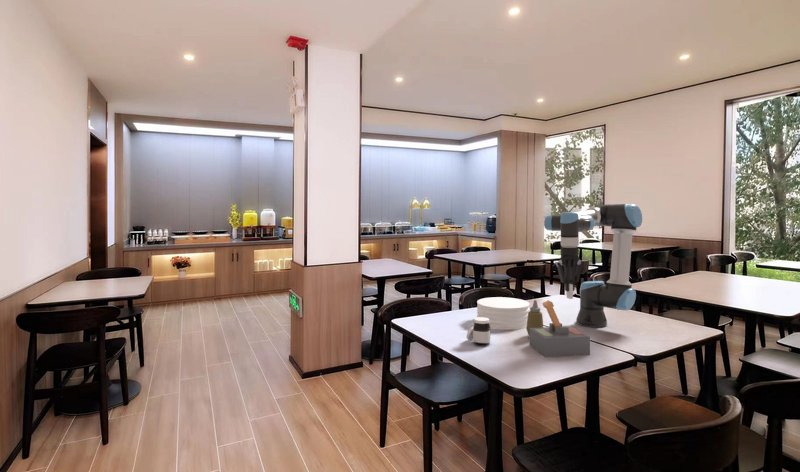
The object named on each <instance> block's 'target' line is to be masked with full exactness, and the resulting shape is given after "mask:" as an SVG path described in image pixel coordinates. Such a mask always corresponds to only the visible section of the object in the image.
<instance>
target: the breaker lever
mask: <svg viewBox="0 0 800 472" xmlns="http://www.w3.org/2000/svg"><path fill="white" fill-rule="evenodd" d="M542 306H543V308H545V309H546V312H547V313H548V316H549V318H550V320H551V322H552V323H553V325H554V327H561V324H562V323H561V322H560V320H559V318H558V316H557V313H556V311H555V309H554V307H555V305H554V302H552V301H550V300H549V299H548V300H546V301H544V302H542ZM560 323H561V324H560Z"/></svg>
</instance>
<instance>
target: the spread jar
mask: <svg viewBox="0 0 800 472" xmlns="http://www.w3.org/2000/svg"><path fill="white" fill-rule="evenodd" d="M473 320H474V323H473V326H471V327H470V328H469V329H468V331H467V332H466V339H467V340H469V341H472V342H473V344H474V345H475V346H481V347H487V346H489V345H490V344H491V328H490V324H489V319H488V318H485V317H477V316H476V317H474V319H473Z"/></svg>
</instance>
